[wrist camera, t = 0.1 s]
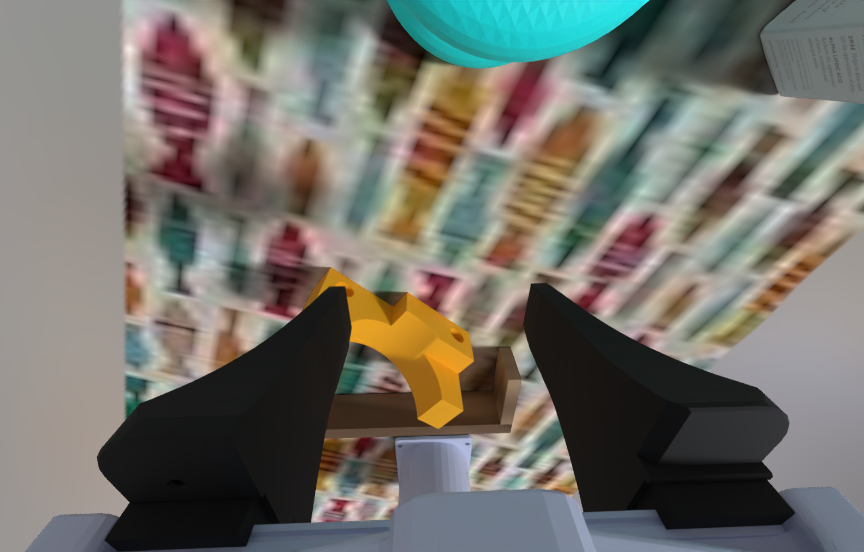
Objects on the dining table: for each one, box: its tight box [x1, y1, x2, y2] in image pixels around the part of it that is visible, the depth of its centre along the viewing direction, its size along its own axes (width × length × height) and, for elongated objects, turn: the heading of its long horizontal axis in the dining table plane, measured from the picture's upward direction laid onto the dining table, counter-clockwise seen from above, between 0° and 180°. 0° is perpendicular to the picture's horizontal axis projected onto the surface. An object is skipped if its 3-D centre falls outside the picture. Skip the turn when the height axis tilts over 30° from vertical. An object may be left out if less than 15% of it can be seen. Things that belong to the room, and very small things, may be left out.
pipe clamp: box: [302, 268, 474, 429], centre depth 23 cm, size 12×4×6 cm, turn 49°
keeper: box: [325, 347, 522, 438], centre depth 28 cm, size 7×19×4 cm, turn 90°
